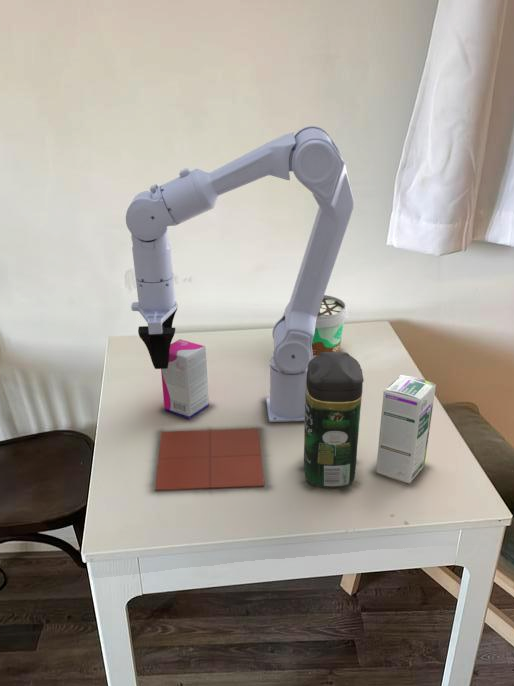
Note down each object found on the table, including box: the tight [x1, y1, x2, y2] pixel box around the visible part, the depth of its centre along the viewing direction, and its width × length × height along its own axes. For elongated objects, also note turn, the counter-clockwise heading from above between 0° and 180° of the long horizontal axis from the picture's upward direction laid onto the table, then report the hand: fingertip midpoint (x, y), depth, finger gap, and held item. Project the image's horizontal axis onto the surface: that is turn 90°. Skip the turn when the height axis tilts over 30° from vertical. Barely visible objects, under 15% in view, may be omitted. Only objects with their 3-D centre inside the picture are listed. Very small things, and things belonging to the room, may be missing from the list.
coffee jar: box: [303, 351, 364, 489], centre depth 100 cm, size 10×8×19 cm
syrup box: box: [375, 374, 436, 485], centre depth 102 cm, size 6×6×14 cm
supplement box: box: [160, 338, 210, 420], centre depth 118 cm, size 6×6×12 cm
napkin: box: [155, 428, 265, 492], centre depth 108 cm, size 16×16×1 cm
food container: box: [312, 294, 349, 359], centre depth 136 cm, size 12×6×10 cm, turn 168°
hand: (162, 357), depth 115 cm, fingers open, 7 cm apart
